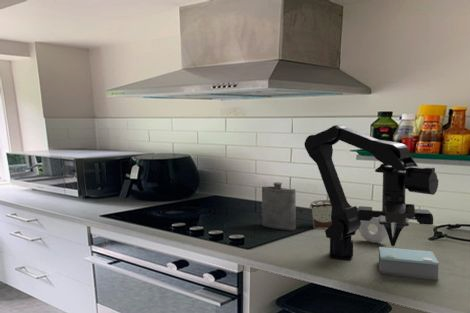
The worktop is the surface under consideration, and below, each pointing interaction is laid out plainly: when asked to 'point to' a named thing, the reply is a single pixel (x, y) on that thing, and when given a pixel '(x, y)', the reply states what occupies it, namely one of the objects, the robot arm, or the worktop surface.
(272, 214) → the flask
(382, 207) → the robot arm
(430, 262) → the cover
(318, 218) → the food container
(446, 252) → the worktop surface
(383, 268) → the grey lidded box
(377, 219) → the donut
